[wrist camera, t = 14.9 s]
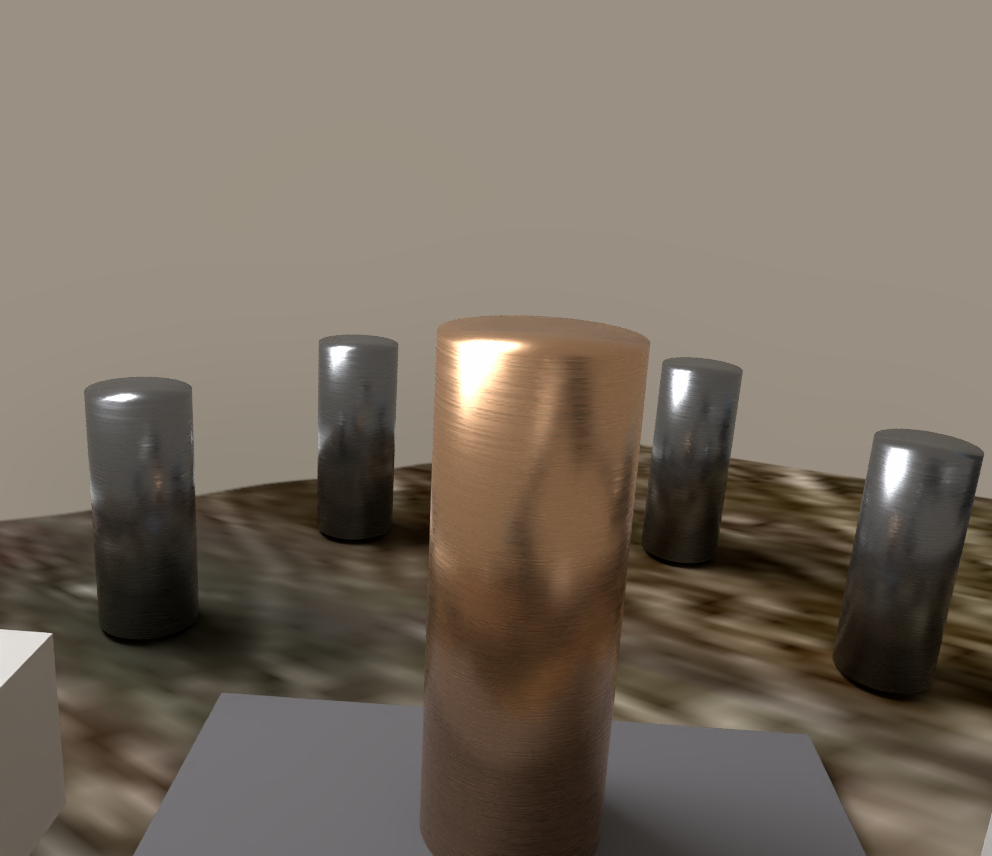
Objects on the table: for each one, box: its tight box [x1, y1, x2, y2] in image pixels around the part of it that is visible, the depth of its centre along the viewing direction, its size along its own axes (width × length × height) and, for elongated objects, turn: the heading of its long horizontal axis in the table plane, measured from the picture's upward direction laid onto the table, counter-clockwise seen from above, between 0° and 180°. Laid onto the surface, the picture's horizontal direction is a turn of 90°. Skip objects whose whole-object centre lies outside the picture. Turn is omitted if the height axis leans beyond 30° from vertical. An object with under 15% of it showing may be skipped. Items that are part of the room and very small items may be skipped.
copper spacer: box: [419, 315, 650, 856], centre depth 21 cm, size 4×4×12 cm
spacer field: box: [84, 335, 984, 694], centre depth 36 cm, size 28×12×8 cm, turn 88°
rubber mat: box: [133, 693, 866, 856], centre depth 23 cm, size 17×9×1 cm, turn 88°
